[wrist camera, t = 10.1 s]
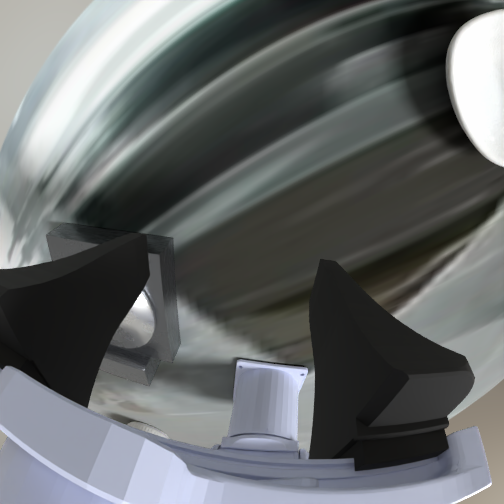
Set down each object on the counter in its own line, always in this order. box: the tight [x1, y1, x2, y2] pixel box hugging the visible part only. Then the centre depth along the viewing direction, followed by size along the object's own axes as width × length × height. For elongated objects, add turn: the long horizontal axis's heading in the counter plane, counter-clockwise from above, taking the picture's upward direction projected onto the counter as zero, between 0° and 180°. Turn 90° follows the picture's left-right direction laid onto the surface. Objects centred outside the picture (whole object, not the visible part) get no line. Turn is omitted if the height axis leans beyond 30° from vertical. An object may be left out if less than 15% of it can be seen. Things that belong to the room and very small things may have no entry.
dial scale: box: [46, 223, 181, 386], centre depth 25 cm, size 16×13×5 cm
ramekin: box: [127, 421, 169, 439], centre depth 43 cm, size 11×11×5 cm
